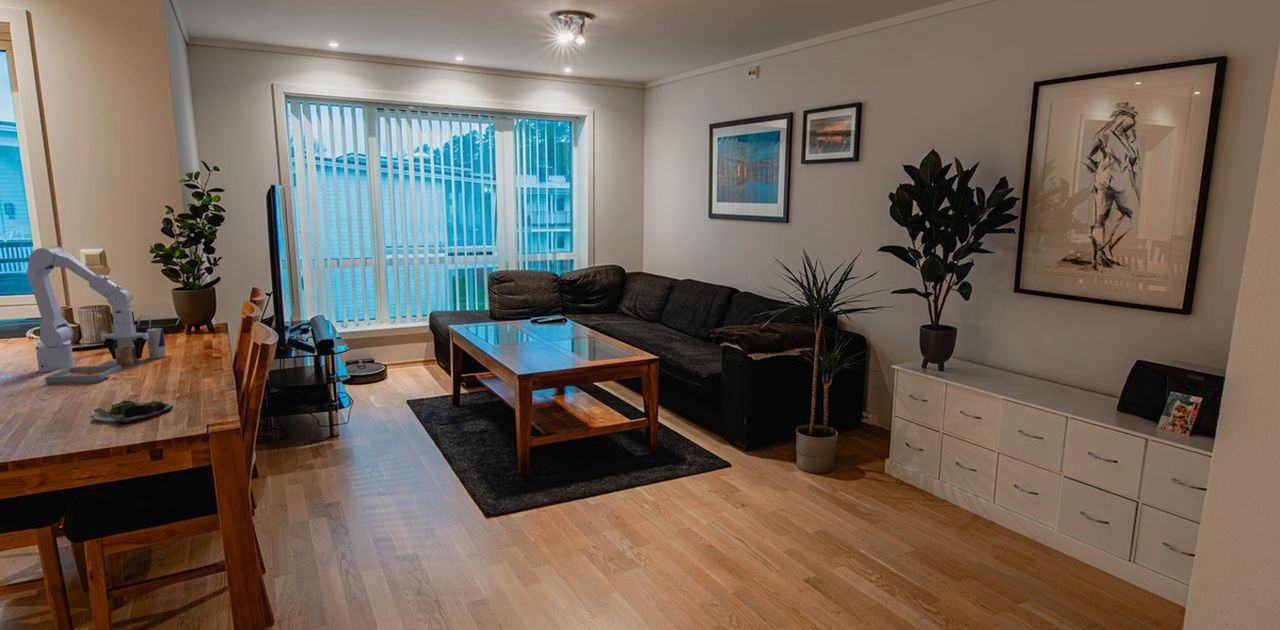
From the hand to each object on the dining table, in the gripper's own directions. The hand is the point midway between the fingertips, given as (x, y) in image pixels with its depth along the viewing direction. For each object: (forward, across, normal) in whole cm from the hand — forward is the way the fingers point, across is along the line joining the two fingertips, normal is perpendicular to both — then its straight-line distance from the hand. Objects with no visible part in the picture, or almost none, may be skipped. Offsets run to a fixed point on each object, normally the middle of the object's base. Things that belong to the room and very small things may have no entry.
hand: (127, 358), depth 254 cm
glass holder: (+3, +12, -31) cm, 33 cm away
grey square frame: (+3, +6, +16) cm, 17 cm away
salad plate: (+3, -30, +63) cm, 70 cm away
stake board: (+3, +2, +1) cm, 4 cm away
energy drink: (+3, -6, -9) cm, 11 cm away
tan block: (+2, 0, 0) cm, 2 cm away
